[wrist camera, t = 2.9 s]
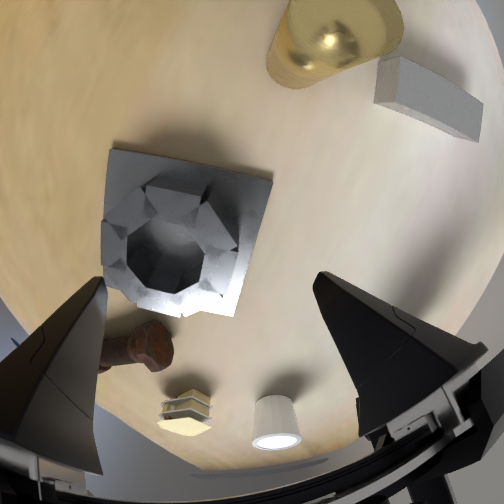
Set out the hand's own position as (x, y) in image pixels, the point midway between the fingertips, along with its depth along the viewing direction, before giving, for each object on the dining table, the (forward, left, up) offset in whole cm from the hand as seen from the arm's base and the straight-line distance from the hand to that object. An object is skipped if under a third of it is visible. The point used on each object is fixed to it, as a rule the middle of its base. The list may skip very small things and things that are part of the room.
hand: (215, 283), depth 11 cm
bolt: (+10, +21, -13) cm, 27 cm away
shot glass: (-13, +29, -13) cm, 34 cm away
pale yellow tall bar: (-2, -12, -13) cm, 18 cm away
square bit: (-14, -14, -13) cm, 24 cm away
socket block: (+4, +5, -13) cm, 14 cm away
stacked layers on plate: (0, +31, -13) cm, 34 cm away
